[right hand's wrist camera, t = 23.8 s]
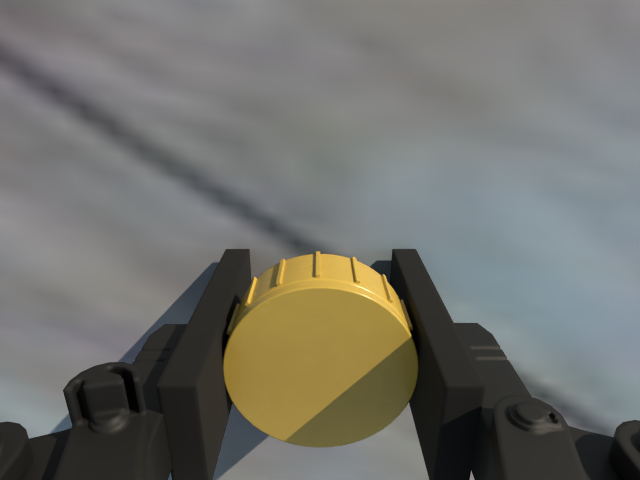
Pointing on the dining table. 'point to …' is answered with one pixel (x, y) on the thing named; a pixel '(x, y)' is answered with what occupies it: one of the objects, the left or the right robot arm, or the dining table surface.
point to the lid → (320, 352)
